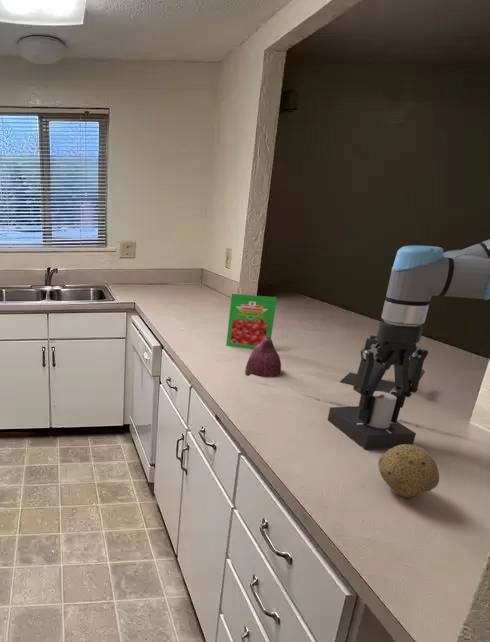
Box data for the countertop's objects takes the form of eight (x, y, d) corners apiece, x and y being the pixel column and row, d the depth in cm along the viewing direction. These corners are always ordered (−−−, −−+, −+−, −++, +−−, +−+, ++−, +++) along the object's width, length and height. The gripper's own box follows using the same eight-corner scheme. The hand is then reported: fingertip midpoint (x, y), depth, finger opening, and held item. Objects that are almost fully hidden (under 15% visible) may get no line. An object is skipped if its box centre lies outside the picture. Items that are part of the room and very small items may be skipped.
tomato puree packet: (225, 346, 165) (231, 293, 158) (226, 345, 166) (232, 293, 159) (268, 351, 158) (276, 297, 151) (269, 350, 159) (276, 296, 152)
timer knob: (370, 416, 102) (377, 388, 100) (393, 424, 98) (401, 395, 96) (359, 422, 100) (366, 393, 97) (383, 430, 96) (390, 401, 93)
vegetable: (274, 391, 133) (287, 351, 124) (240, 381, 137) (250, 342, 128) (281, 373, 140) (293, 334, 131) (248, 364, 144) (258, 325, 135)
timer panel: (412, 447, 96) (416, 432, 95) (364, 449, 95) (368, 434, 94) (369, 418, 109) (372, 404, 108) (327, 419, 108) (330, 406, 107)
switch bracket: (394, 387, 127) (407, 338, 122) (386, 397, 120) (399, 347, 115) (349, 376, 135) (358, 330, 130) (338, 385, 128) (348, 338, 123)
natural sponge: (360, 482, 84) (371, 437, 81) (398, 475, 86) (410, 431, 83) (402, 512, 76) (416, 463, 73) (442, 504, 78) (458, 456, 74)
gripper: (429, 316, 95) (403, 411, 103) (347, 318, 94) (327, 414, 102) (459, 325, 88) (429, 426, 96) (371, 328, 87) (348, 430, 95)
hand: (377, 420), depth 99 cm, fingers open, 6 cm apart
